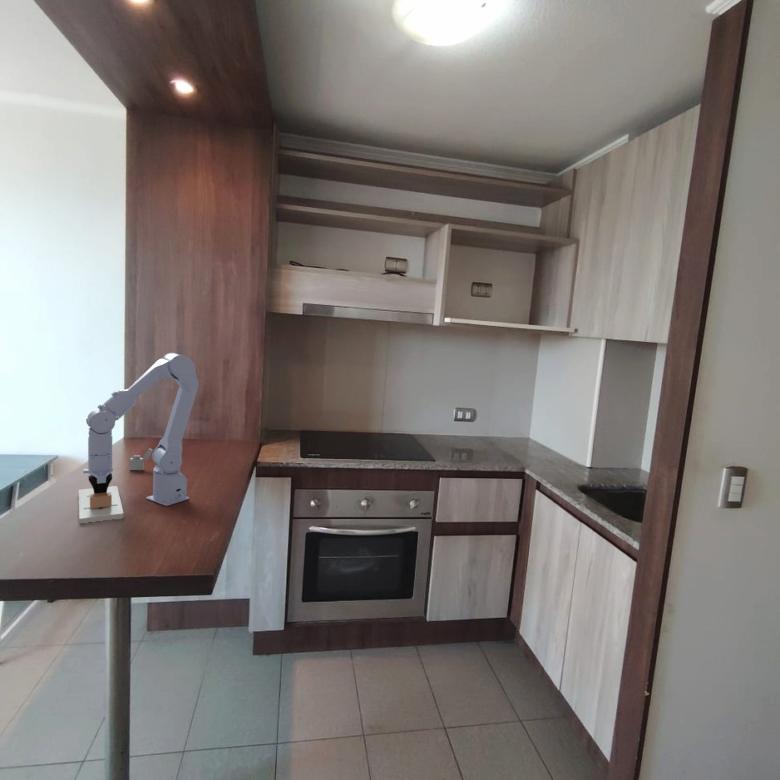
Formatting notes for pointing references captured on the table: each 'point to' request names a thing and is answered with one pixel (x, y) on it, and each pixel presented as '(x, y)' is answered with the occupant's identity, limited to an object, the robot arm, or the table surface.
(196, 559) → the table surface
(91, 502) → the block
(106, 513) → the fader board
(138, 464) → the lighter
